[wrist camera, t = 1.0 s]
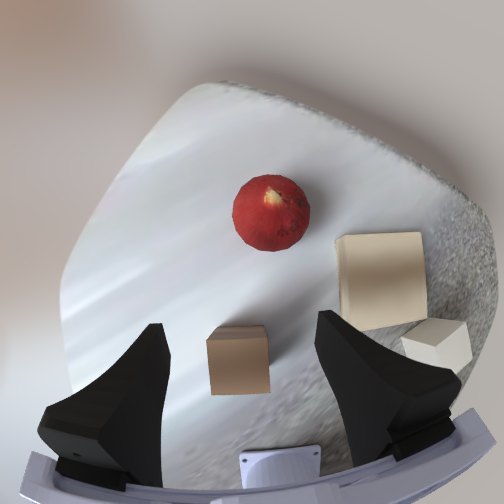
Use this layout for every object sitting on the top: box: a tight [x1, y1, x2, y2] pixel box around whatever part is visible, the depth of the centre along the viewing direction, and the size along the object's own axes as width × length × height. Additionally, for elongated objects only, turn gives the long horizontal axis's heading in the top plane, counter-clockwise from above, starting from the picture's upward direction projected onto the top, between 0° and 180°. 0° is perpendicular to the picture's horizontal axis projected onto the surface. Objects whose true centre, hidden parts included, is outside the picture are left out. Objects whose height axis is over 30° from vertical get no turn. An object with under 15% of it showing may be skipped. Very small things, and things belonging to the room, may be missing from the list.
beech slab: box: [335, 232, 427, 331], centre depth 23 cm, size 8×8×3 cm
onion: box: [232, 174, 310, 252], centre depth 20 cm, size 6×6×8 cm
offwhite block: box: [401, 317, 473, 374], centre depth 20 cm, size 4×4×6 cm
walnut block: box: [206, 325, 270, 395], centre depth 20 cm, size 4×4×6 cm
